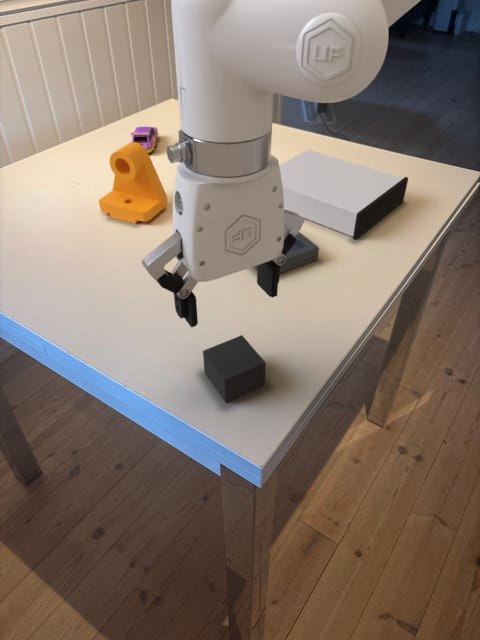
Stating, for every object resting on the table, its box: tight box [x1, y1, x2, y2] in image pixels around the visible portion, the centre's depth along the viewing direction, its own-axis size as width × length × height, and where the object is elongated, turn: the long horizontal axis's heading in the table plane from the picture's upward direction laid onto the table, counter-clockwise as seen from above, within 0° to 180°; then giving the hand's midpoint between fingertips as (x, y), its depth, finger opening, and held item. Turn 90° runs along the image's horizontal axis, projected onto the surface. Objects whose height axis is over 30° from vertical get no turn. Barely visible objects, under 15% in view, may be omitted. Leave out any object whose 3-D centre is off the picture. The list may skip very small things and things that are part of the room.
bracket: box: [98, 141, 169, 224], centre depth 88 cm, size 11×7×12 cm, turn 65°
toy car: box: [130, 126, 159, 154], centre depth 115 cm, size 6×12×5 cm, turn 179°
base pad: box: [253, 231, 320, 275], centre depth 80 cm, size 10×10×2 cm
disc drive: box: [279, 149, 409, 241], centre depth 93 cm, size 18×22×5 cm
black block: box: [202, 334, 266, 403], centre depth 59 cm, size 6×6×4 cm
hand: (228, 304), depth 52 cm, fingers open, 9 cm apart
